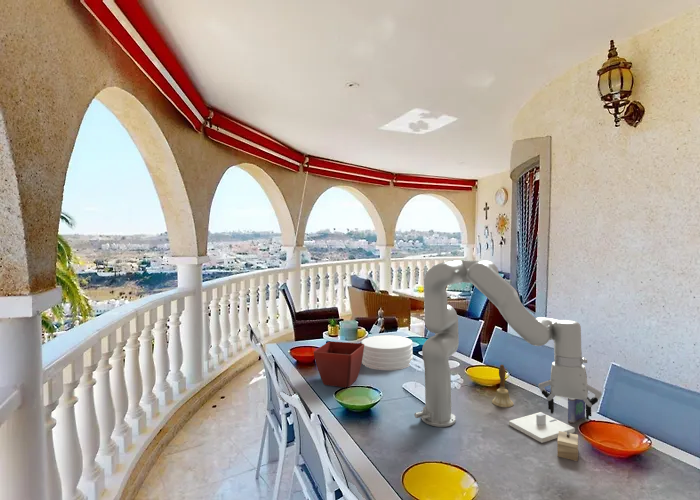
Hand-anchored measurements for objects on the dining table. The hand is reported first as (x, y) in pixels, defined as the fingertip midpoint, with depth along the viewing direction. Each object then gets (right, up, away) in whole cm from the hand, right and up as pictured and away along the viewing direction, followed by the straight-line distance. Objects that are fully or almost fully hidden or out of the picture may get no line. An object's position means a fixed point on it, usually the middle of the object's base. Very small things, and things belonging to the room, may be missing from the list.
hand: (569, 414), depth 124 cm
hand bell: (-6, -12, +39) cm, 41 cm away
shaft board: (-1, -12, +17) cm, 21 cm away
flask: (+15, -12, +23) cm, 30 cm away
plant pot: (-73, -12, +67) cm, 100 cm away
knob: (0, -12, +1) cm, 12 cm away
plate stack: (-48, -11, +96) cm, 108 cm away
